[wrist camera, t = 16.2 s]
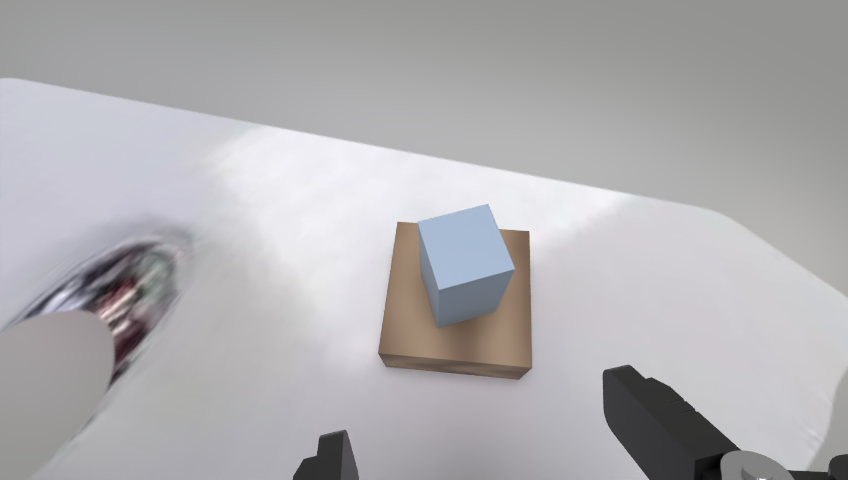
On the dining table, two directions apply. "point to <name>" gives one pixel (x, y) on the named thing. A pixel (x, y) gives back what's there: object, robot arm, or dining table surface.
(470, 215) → the slate blue pillar block
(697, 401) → the dining table surface
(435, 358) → the walnut block
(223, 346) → the dining table surface
